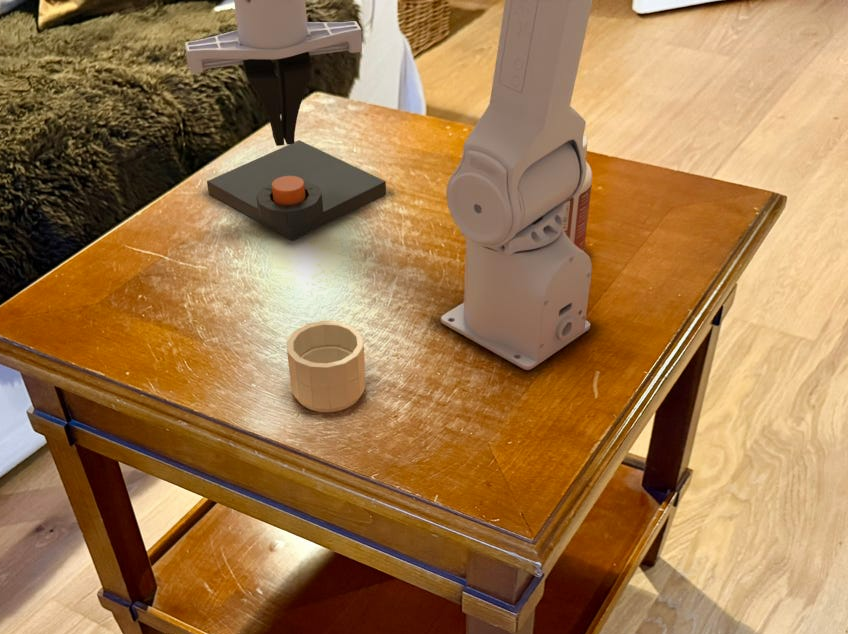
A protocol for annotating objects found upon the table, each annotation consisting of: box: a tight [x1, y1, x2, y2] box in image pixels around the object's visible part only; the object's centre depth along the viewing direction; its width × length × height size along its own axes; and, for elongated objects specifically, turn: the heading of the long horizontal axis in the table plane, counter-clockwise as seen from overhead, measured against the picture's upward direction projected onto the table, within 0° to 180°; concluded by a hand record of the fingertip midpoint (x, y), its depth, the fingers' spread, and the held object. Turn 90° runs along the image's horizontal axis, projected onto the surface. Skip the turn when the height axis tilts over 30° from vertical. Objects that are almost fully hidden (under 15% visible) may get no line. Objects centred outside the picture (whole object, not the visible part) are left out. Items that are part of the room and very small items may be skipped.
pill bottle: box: [563, 134, 593, 252], centre depth 86 cm, size 6×6×11 cm
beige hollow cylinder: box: [286, 320, 367, 413], centre depth 76 cm, size 6×6×4 cm
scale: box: [206, 139, 387, 242], centre depth 98 cm, size 14×13×3 cm
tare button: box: [272, 176, 306, 205], centre depth 93 cm, size 3×3×2 cm
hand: (283, 140), depth 90 cm, fingers closed
